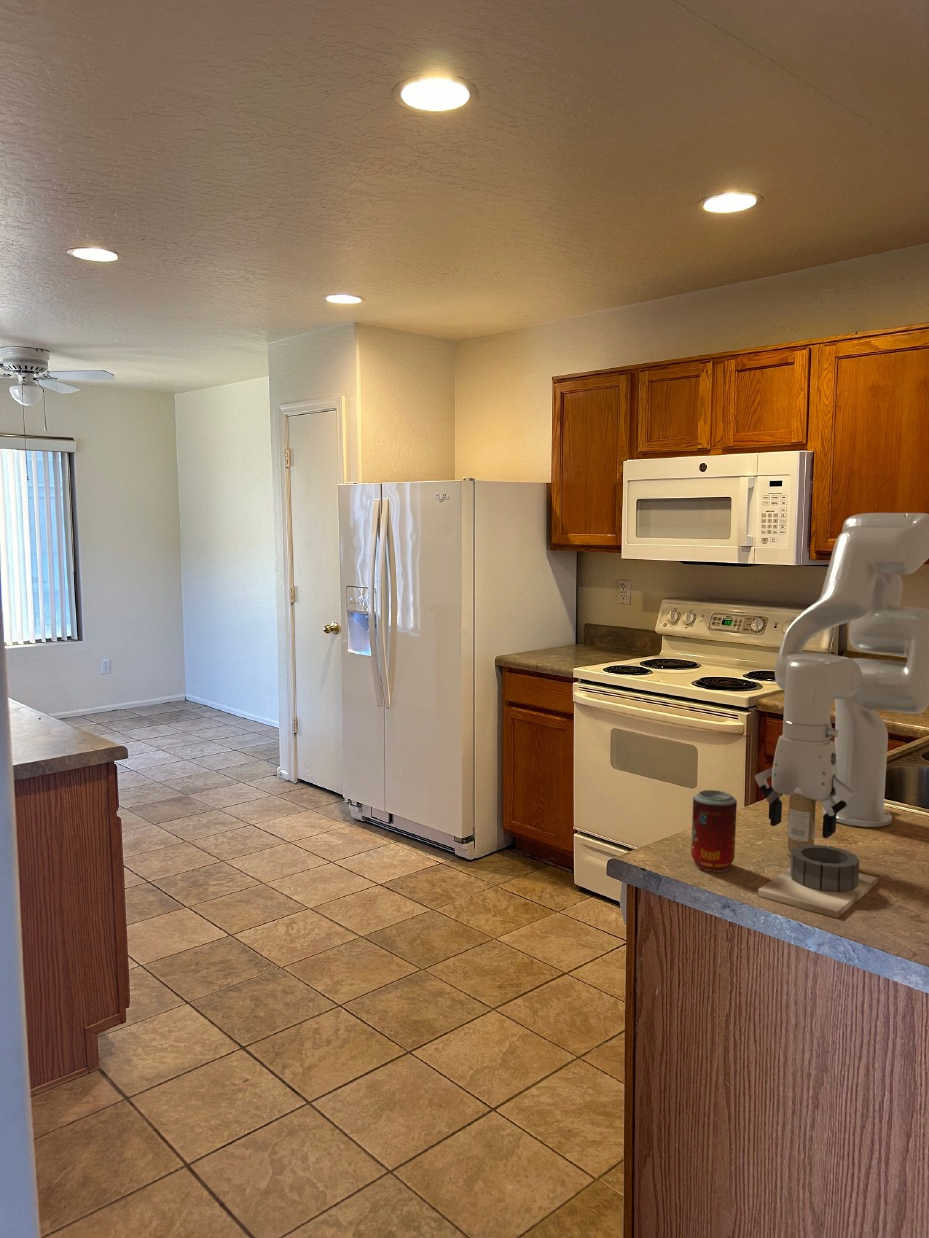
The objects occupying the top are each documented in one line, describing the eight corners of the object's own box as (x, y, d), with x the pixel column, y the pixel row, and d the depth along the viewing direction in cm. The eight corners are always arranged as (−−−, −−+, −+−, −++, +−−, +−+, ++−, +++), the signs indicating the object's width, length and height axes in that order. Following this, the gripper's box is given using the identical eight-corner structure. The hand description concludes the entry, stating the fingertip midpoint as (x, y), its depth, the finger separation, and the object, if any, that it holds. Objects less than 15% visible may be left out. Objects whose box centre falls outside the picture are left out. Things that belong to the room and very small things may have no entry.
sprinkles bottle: (819, 857, 157) (823, 781, 156) (802, 862, 155) (806, 784, 153) (796, 849, 161) (800, 775, 160) (780, 854, 159) (784, 778, 157)
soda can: (690, 856, 157) (693, 786, 156) (733, 860, 155) (736, 790, 154) (690, 870, 150) (693, 798, 149) (734, 875, 148) (738, 802, 147)
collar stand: (802, 864, 154) (804, 835, 153) (877, 883, 146) (878, 853, 145) (757, 895, 140) (759, 864, 140) (837, 918, 132) (839, 884, 132)
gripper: (866, 736, 153) (860, 836, 155) (766, 720, 164) (761, 814, 166) (850, 743, 147) (845, 847, 149) (748, 727, 159) (744, 824, 160)
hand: (801, 829), depth 157 cm, fingers open, 8 cm apart
